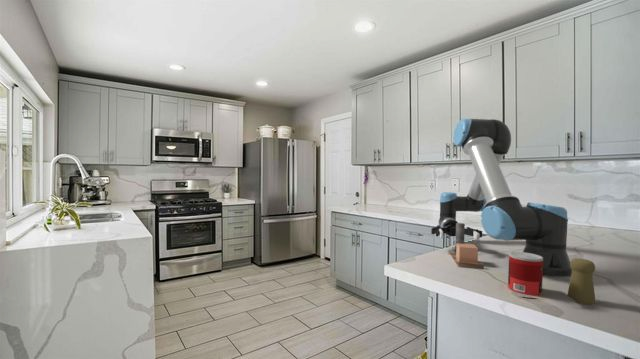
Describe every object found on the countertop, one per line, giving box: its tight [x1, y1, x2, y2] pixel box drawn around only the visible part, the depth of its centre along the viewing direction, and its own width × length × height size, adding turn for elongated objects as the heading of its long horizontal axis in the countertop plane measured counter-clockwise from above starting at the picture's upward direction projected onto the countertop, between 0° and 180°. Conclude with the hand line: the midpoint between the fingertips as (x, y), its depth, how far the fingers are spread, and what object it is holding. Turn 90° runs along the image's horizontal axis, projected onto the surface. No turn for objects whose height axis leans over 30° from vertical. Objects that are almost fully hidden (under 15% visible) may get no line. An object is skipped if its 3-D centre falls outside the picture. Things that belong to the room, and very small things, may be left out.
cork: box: [566, 258, 597, 306], centre depth 83 cm, size 6×6×11 cm
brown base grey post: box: [447, 222, 485, 270], centre depth 117 cm, size 22×8×13 cm, turn 166°
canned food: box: [507, 251, 544, 300], centre depth 87 cm, size 8×8×11 cm
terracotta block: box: [455, 243, 479, 263], centre depth 113 cm, size 6×6×6 cm
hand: (460, 236), depth 125 cm, fingers open, 13 cm apart
